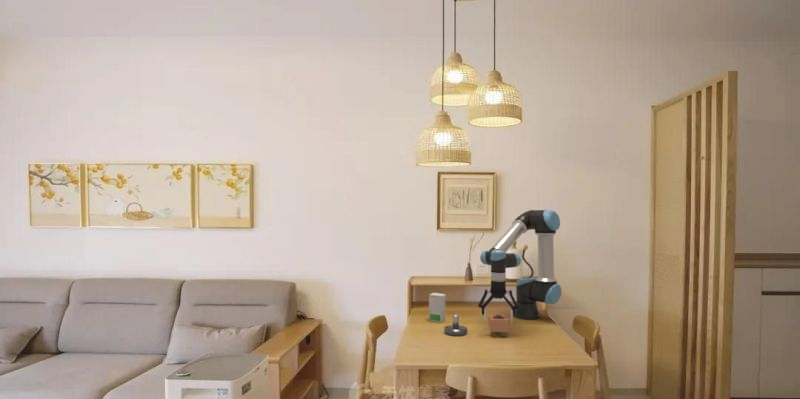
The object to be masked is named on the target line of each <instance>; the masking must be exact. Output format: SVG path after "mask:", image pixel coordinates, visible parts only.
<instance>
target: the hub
mask: <svg viewBox="0 0 800 399" xmlns="http://www.w3.org/2000/svg"><path fill="white" fill-rule="evenodd" d="M459 322H460V315H459V314H458V313H453V314H452V324H450V325H446V326H444V327H443V329H444V330H443V332H444V335H447V336H450V337H465V336H467V335H468V327H466V326H464V325H460V323H459Z"/></svg>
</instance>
